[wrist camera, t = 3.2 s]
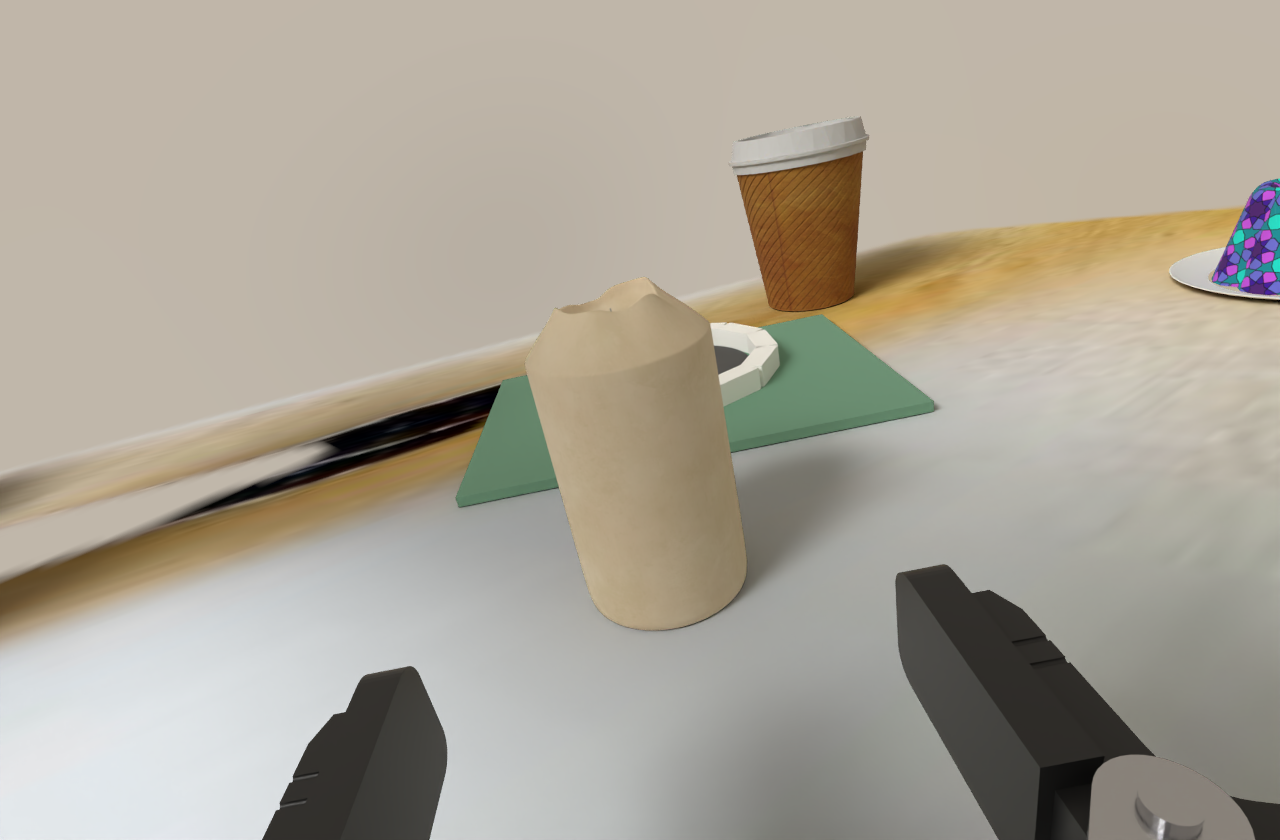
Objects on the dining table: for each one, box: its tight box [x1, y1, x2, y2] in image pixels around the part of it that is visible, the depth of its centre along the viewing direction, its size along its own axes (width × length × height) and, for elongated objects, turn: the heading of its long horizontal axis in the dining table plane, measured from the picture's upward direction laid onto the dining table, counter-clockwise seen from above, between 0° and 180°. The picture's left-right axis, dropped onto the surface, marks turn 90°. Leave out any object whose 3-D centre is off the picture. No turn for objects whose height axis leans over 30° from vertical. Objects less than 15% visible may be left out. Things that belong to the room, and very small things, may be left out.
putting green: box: [456, 314, 934, 507], centre depth 37 cm, size 22×16×2 cm
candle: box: [525, 277, 747, 630], centre depth 20 cm, size 6×6×10 cm
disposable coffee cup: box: [729, 117, 869, 311], centre depth 47 cm, size 10×10×12 cm
